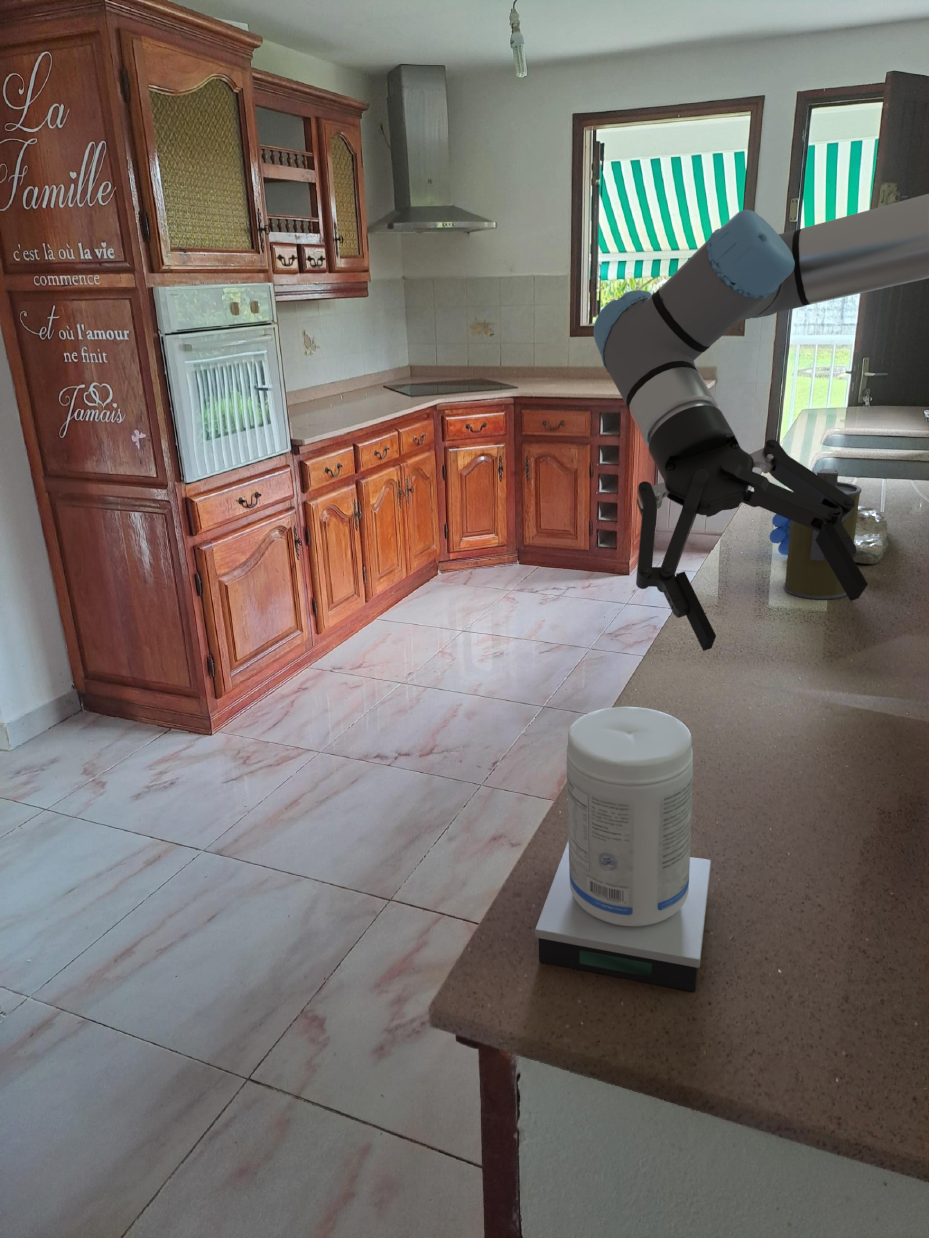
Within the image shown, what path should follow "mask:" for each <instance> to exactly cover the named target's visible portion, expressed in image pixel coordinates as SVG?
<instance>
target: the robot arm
mask: <svg viewBox="0 0 929 1238" xmlns="http://www.w3.org/2000/svg"><path fill="white" fill-rule="evenodd" d="M927 279H929V193H926V194H923V195H920V196H915V197H911V198H909V199H904V200H901V201H898V202H894V203H890V204H886V205H883V206H878V207H875V208H871V209H868V210H864V211H861V212H857V213H854V214H853V213H852V214H850V215H846V216H842V217H838V218H835V219H832V220H827V221H823V222H821V223H817V224H816V223H815V224H813V225H809V226H805V227H802V228H798V229H794V230H790V231H786V232H782V233H779V234H778V232H777V231H776V230H775V229H774V227H772V225H770V223H768V222H767V220H765V219H764V218H763V217H762V216H760V215H759V214H758V213H757V212H756V211H754V210H751V209H743V210H739V212H737V213H735V214H734V215H733V216H732V217H731V218H730V219H729V220H727V222H725V223H724V224H723V225H722V226H721V227H719V228H717V229H716V230H714V231H713V232H712V233H711V234H710V237H709V238H708V239H707V240H706V241H705V242H704V243H703V244H702V245H701V246H700V247H699V248H698V249H697V250H696V251H695V252H694V253H693V254H692V255H691V256H690V257H689V258H688V259H687V260H686V261H685V262H684V264H682V265H681V266H680V267H679V268H678V269H677V270H676V272H674V273H673V274H672V275H671V276H670V277H669V278H668V279H667V280H666V282H664V283H663V284H662V285H661V286H660V287H659V288H658V289H657V290H656V291H655V292H653V293H652V292H650V291H648V290H643V289H634V290H629V291H627V292H623V294H622V295H621V297H619V298H617V299H615V298H613V299H611V300H610V301H608V303H607V304H605V306H603V308H602V309H601V310H600V312H599V313H598V315H597V317H596V319H595V321H594V325H593V340H594V342H595V344H596V345H595V346H596V347H597V350H598V352H599V354H600V357H601V361H602V364H603V367H604V368H605V370H606V372H607V373H608V374H609V375H610V377H611V380H612V381H613V384H614V385H615V387H616V388H617V390H618V393H619V394H620V397H621V398H622V400H623V402H624V404H625V405H626V407H627V411H628V412H629V414H630V416H631V418H632V420H633V422H634V424H635V426H636V428H637V430H638V432H639V434H640V436H641V438H642V440H643V442H644V443H645V445H646V446H647V447H648V452H649V455H650V456H651V458H652V460H653V462H654V464H655V466H656V468H657V470H658V472H659V474H660V476H661V478H662V479H663V482H661V483H656V484H651V482H649V481H646V480H645V481H641V482H640V483H639V484H638V485H637V493H636V494H637V495H636V505H637V508H638V510H639V514H640V517H641V520H640V521H641V522H640V533H639V542H638V543H639V545H638V554H637V555H638V556H637V567H636V577H635V579H636V580H635V584H636V587H637V588H639V589H640V590H646V589H647V588H651V587H653V588H655V587H656V588H657V591H658V592H660V593H663V595H664V597H665V599H666V601H667V603H668V605H669V607H670V610H671V612H672V614H673V615H674V616H675V617H676V618H677V619H679V618H683V617H685V616H686V618H687V620H688V623H689V624H690V627H691V628H692V630H693V632H694V635H695V637H696V639H697V641H698V643H699V645H700V647H701V649H702V652H705V651H708V650H711V649H712V648H713V646H714V643H715V640H716V637H717V634H716V633H715V631H714V628H713V627H712V625H711V623H710V621H709V618H708V615H707V614H706V612H705V609H704V608H703V606H702V604H701V602H700V600H699V598H698V595H697V594H696V592H695V590H694V588H693V586H692V584H691V582H690V580H689V578H688V576H687V573H686V572H685V571H682V572H681V571H680V572H679V573H676V572H677V569H678V567H679V564H680V561H681V558H682V555H683V553H684V550H685V547H686V545H687V542H688V539H689V536H690V533H691V531H692V528H693V525H694V523H695V520H696V517H697V515H700V516H706V518H710V517H712V516H716V515H717V514H719V513H720V512H722V511H729V510H734V509H737V508H739V507H740V504H742V503H743V504H745V505H747V506H750V507H751V508H757V507H759V508H761V509H764V510H766V511H769V512H771V513H773V514H778V515H780V516H783V517H785V518H787V519H790V520H792V521H794V522H797V523H799V524H801V525H804V526H806V527H808V528H811V529H813V530H815V531H818V532H819V534H818V536H817V538H816V540H815V541H816V542H817V544H818V546H819V548H820V549H821V551H822V553H823V554H824V556H825V558H826V560H827V561H828V563H829V565H830V567H831V568H832V570H833V572H834V573H835V575H836V577H837V579H838V580H839V582H840V584H841V585H842V587H843V589H844V591H845V592H846V594H847V595H846V596H847V598H848V599H849V601H850V602H852V601H856V600H858V599H860V597H861V596H862V595H863V593H864V591H865V590H866V588H867V587H868V585H869V584H868V582H867V580H866V578H865V577H864V575H863V573H862V571H861V569H860V568H859V566H858V564H857V563H856V562H855V561H854V560H853V557H854V555H855V554H856V552H857V550H856V545H855V544H854V542H853V541H852V539H851V538H850V536H849V534H848V532H847V531H846V529H845V527H844V526H843V524H842V522H845V521H846V520H847V519H848V517H849V515H850V513H851V512H852V510H853V508H854V506H855V501H854V499H853V498H851V497H850V496H848V495H847V494H845V493H844V492H842V491H841V490H839V489H838V488H836V487H835V486H833V485H832V484H830V483H829V482H827V481H826V480H824V479H823V478H821V477H820V476H818V475H817V473H815V472H813V470H811V469H809V468H808V467H806V466H804V465H803V464H802V463H800V462H799V461H797V460H796V459H794V458H793V457H792V456H790V455H788V453H787V452H786V450H785V449H784V448H783V446H782V445H781V444H780V442H778V441H777V440H776V439H768V440H767V441H765V444H764V447H763V448H760V449H758V450H756V451H754V452H752V453H749V452H747V451H745V450H744V449H743V448H742V447H741V446H740V444H739V441H738V439H737V436H736V435H735V433H734V431H733V430H732V428H731V425H730V424H729V422H728V420H727V419H726V416H724V413H723V412H722V410H721V409H720V408H719V407H718V406H719V405H718V403H717V401H716V399H715V397H714V396H713V393H712V392H711V391H710V389H709V386H708V385H707V384H706V382H705V380H704V379H703V377H702V374H701V373H700V371H699V370H698V367H696V364H695V360H696V359H697V358H698V357H700V356H701V355H702V354H703V353H705V352H706V351H707V350H709V348H710V347H711V346H713V344H714V343H716V342H717V341H718V340H719V339H721V337H723V336H724V335H725V334H726V333H727V332H729V331H730V330H731V329H732V328H733V327H735V326H736V325H737V324H738V323H739V322H740V321H743V320H749V319H758V318H762V317H763V318H764V317H768V316H772V315H774V314H776V313H781V312H786V311H790V310H795V309H799V308H803V307H806V306H810V305H814V304H818V303H823V302H828V301H832V300H838V299H841V298H846V297H850V296H854V295H859V294H864V293H868V292H873V291H877V290H882V289H886V288H891V287H896V286H900V285H904V284H908V283H913V282H918V281H922V280H927ZM755 468H756V469H757V468H758V469H760V470H761V472H762V473H763V474H768V473H769V475H770V476H771V477H772V478H773V479H774V480H776V481H777V482H778V483H780V484H782V485H783V486H784V487H782V486H780V485H778V484H775V483H772V482H771V481H769V478H767V476H765V475H763V474H761V473H758V472H756V471H753V470H754V469H755ZM750 487H751V488H752V489H753V491H752V490H750V489H749V488H750ZM785 487H786V488H785ZM664 498H667V499H668V500H670V501H672V502H674V503H676V504H677V505H680V507H682V508H681V510H680V514H679V516H678V519H677V522H676V525H675V528H674V530H673V533H672V535H671V538H670V541H669V544H668V547H667V549H666V552H665V554H664V557H663V560H662V563H661V566H653V562H654V549H655V548H654V547H655V535H656V523H657V510H658V509H660V508H661V507H662V504H663V500H664Z"/></svg>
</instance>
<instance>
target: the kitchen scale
mask: <svg viewBox="0 0 929 1238" xmlns="http://www.w3.org/2000/svg"><path fill="white" fill-rule="evenodd" d="M711 868H712V860H711V859H705V858H699V857H691V856H690V869H689V891H688V895H687V898H686V901H685V903H684V904H683V906H682V907H681V908H680V909H679V910H678V911H677V912H676V913H675V914H674V915H672V916H670V917H669V918H667V919H665V920H663V921H660V922H658V923H655V924H651V925H645V926H623V925H617V924H612V923H609V922H606V921H603V920H601V919H598V918H596V917H594V916H593V915H591V914H589V913H588V912H587V911H585V910H584V909H583V908H582V907H581V906H580V905H579V904H578V902H577V901H576V900H575V898H574V896H573V894H572V891H571V888H570V874H569V840H568V839H567V842H566V844H565V848H564V850H563V853H562V856H561V859H560V861H559V864H558V867H557V870H556V872H555V875H554V877H553V880H552V883H551V885H550V888H549V891H548V894H547V896H546V898H545V902H544V904H543V907H542V909H541V912H540V915H539V918H538V920H537V924H536V927H535V929H534V933H535V935H534V937H535V938H536V939H538V961H539V963H543V964H548V965H554V966H560V967H565V968H568V969H573V970H574V969H575V970H580V971H584V972H590V973H595V974H600V975H606V976H610V977H615V978H621V979H626V980H631V981H635V982H640V983H646V984H650V985H656V986H661V987H666V988H671V989H677V990H681V991H687V992H692V993H695V992H696V989H697V982H698V981H697V980H698V971H699V968H700V967H701V959H702V950H703V949H702V948H703V941H704V940H703V939H704V932H705V922H706V914H707V913H706V912H707V904H708V895H709V886H710V879H711V878H710V877H711Z"/></svg>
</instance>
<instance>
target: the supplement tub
mask: <svg viewBox="0 0 929 1238" xmlns="http://www.w3.org/2000/svg"><path fill="white" fill-rule="evenodd" d="M693 751H694V750H693V747H692V734H691V732H690V730H689V728H688V727H687V726H686V725H685V723H683V722H682V721H681V720H679V719H677V718H676V717H674V716H673V715H670V714H668V713H666V712H662V711H660V710H656V709H652V708H647V707H637V706H615V707H607V708H602V709H597V710H593V711H591V712H588V713H586V714H583V715H582V716H581V717H579V718H578V719H576V720H575V721H574V722H573V723H572V725H571V726H570V727H569V729H568V733H567V746H566V791H567V792H566V794H567V795H566V796H567V798H566V799H567V827H568V828H567V835H568V836H567V837H568V839H567V841H568V840H569V874H570V888H571V891H572V894H573V896H574V898H575V900H576V901H577V902H578V904H579V905H580V906H581V907H582V908H583V909H584V910H585V911H587V912H588V913H589V914H591V915H593V916H594V917H596V918H598V919H601V920H603V921H606V922H609V923H612V924H617V925H623V926H645V925H651V924H655V923H658V922H660V921H663V920H665V919H667V918H669V917H670V916H672V915H674V914H675V913H676V912H677V911H678V910H679V909H680V908H681V907H682V906H683V904H684V903H685V901H686V898H687V895H688V891H689V869H690V857H691V842H692V841H691V838H692V835H691V834H692V810H693V809H692V808H693V781H694V780H693V777H694V752H693Z"/></svg>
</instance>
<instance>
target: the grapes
mask: <svg viewBox="0 0 929 1238" xmlns="http://www.w3.org/2000/svg"><path fill="white" fill-rule="evenodd" d="M771 523H772V525H773V526H774V527H775V528H774V529H771V531H770V534H769V541H770V542H771V543H772V544H779V545H778V546H777V551H778V552H779V554H780V555H782V556H788V547H789V535H790V524H791V520H790V519H787V518H785V517H783V516H780V515H778V514H776V513H774V516H773V517H772V520H771Z"/></svg>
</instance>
